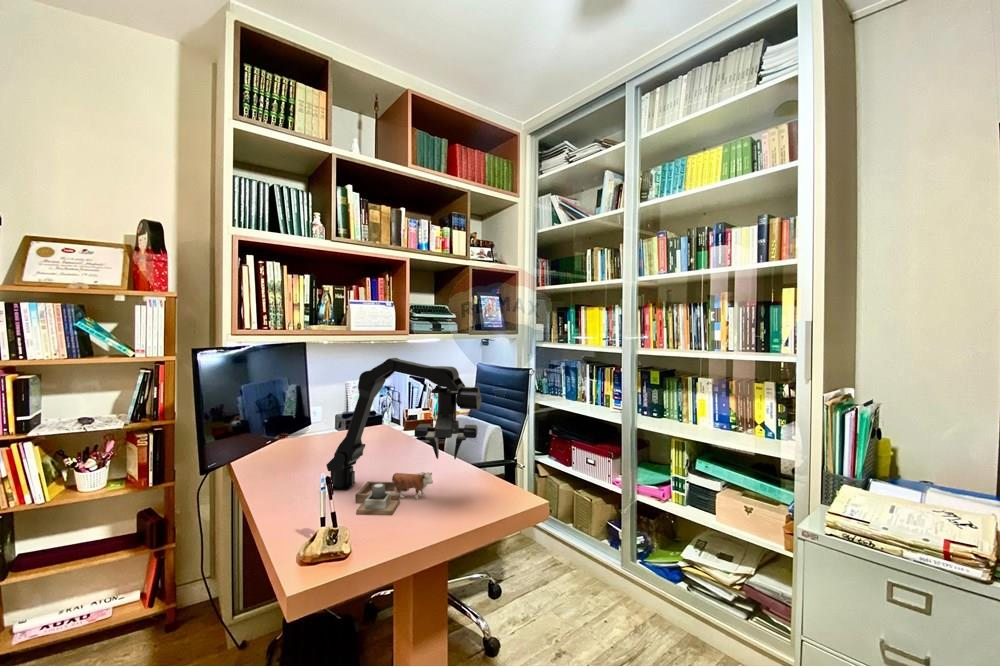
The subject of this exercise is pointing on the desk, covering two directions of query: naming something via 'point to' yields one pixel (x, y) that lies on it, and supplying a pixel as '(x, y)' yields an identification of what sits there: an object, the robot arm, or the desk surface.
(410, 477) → the bull figurine
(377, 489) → the cylinder
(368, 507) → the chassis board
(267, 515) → the desk surface
